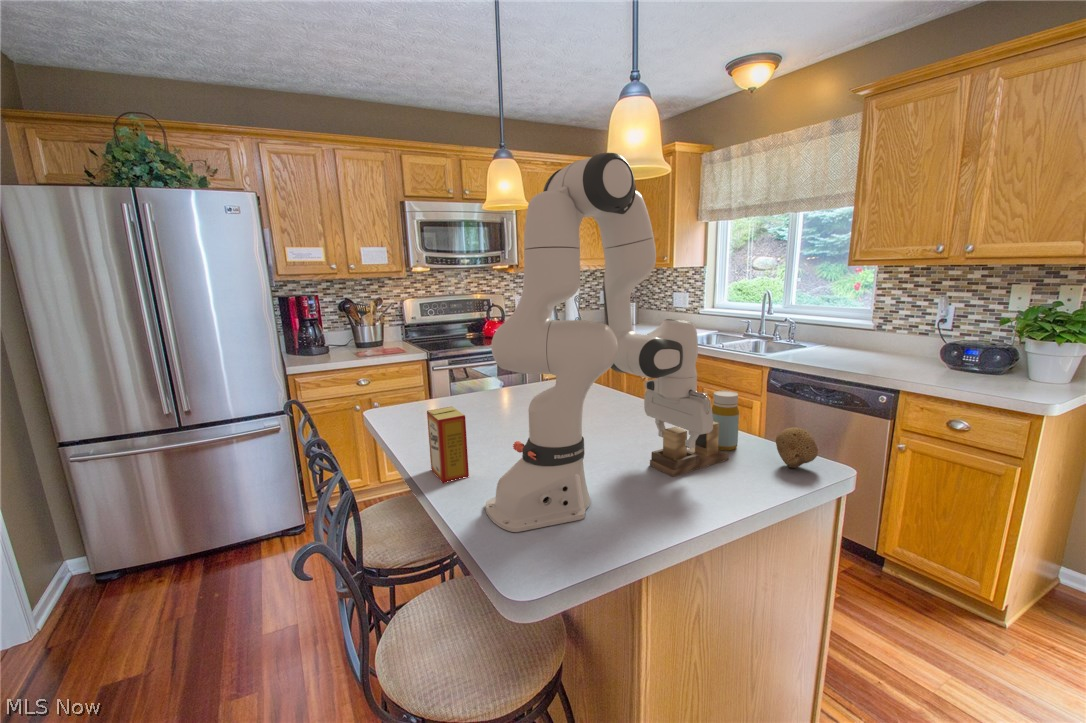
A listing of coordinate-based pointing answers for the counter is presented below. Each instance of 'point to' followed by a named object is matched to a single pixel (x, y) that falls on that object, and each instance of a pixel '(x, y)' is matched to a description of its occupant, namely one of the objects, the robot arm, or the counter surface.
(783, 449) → the natural sponge
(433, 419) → the baking soda box
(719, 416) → the bottle
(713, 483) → the counter surface
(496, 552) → the counter surface
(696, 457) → the wooden block holder
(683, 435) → the block
